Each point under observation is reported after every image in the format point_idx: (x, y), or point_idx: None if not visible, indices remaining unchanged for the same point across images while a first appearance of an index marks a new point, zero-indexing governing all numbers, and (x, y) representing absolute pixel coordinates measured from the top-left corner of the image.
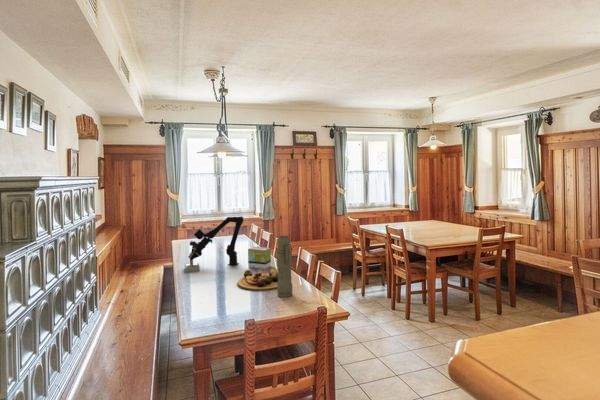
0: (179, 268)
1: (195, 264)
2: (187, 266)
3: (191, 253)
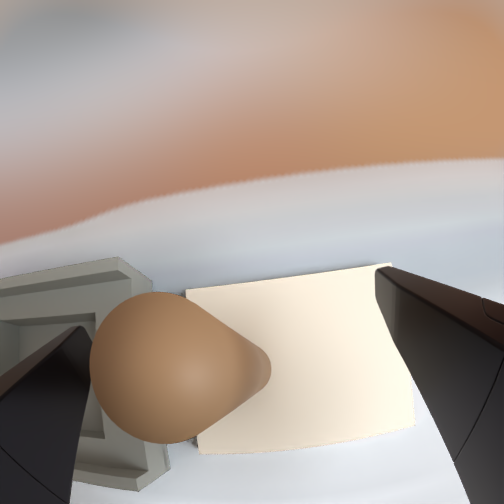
0: (208, 202)
1: (341, 422)
2: (74, 309)
3: (120, 384)
